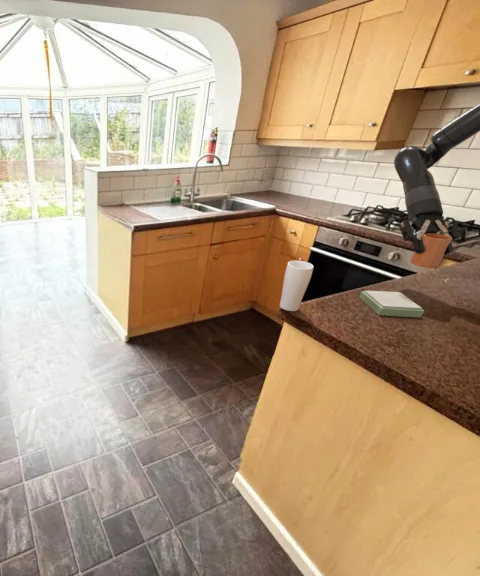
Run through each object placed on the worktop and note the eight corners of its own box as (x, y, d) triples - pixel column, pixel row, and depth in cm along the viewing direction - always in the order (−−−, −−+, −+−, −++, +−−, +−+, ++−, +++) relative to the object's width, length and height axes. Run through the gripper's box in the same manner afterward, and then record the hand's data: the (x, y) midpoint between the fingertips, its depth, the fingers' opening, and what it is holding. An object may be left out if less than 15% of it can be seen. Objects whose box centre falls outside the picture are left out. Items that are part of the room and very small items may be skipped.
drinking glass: (278, 300, 106) (289, 258, 99) (302, 306, 103) (315, 262, 96) (274, 309, 101) (286, 266, 94) (299, 315, 98) (312, 271, 91)
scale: (397, 299, 104) (401, 291, 103) (421, 317, 95) (426, 309, 93) (358, 297, 106) (362, 289, 105) (378, 315, 96) (382, 306, 95)
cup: (428, 260, 101) (441, 233, 97) (443, 268, 96) (457, 239, 91) (405, 260, 102) (417, 232, 98) (419, 267, 97) (432, 239, 93)
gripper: (405, 197, 98) (415, 247, 93) (461, 197, 95) (474, 248, 91) (388, 210, 105) (397, 257, 100) (439, 210, 102) (451, 258, 98)
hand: (434, 253), depth 95 cm, fingers closed on cup, 6 cm apart
